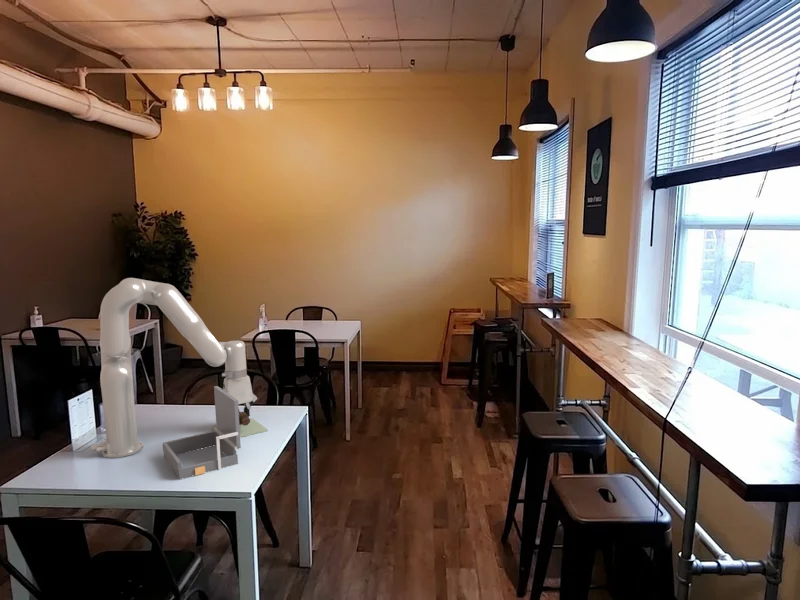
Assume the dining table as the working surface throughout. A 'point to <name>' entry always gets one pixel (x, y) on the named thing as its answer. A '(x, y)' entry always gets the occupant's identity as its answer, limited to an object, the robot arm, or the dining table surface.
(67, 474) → the dining table surface
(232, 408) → the case
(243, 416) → the bolt
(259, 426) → the mat
